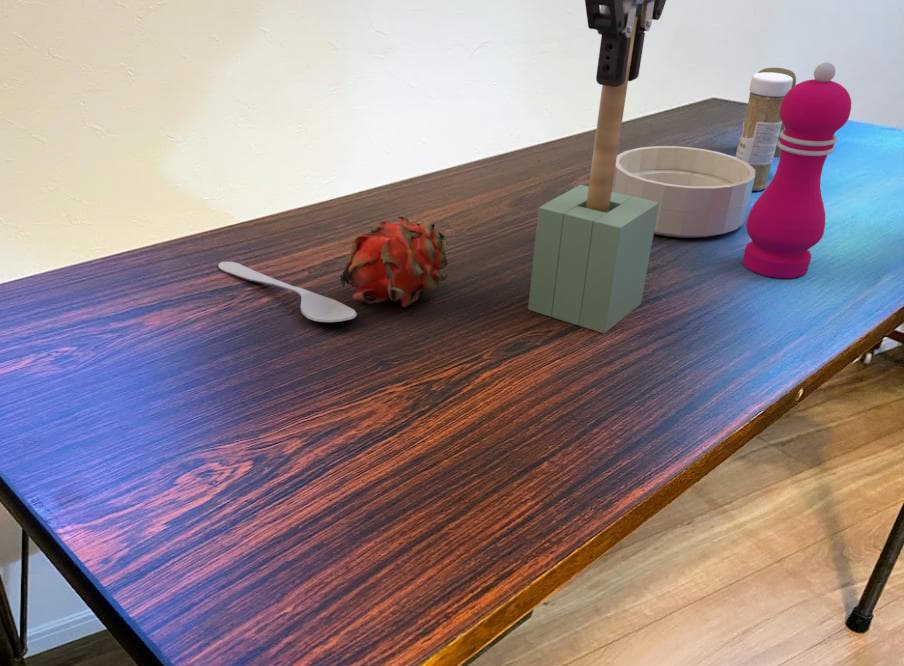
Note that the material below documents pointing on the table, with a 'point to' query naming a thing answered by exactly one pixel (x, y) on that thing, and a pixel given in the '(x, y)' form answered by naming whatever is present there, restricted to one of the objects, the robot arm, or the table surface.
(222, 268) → the spoon
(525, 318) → the table surface
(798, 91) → the pepper mill
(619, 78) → the robot arm
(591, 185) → the cooking stick
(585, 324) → the utensil block
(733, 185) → the bowl
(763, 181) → the sprinkles bottle
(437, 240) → the dragon fruit
